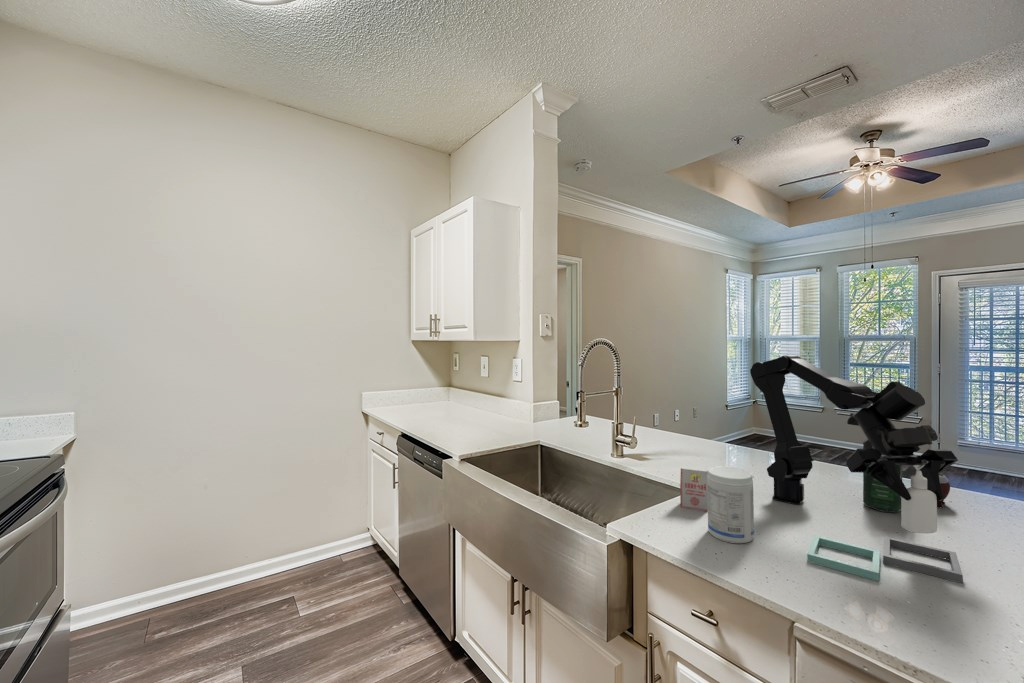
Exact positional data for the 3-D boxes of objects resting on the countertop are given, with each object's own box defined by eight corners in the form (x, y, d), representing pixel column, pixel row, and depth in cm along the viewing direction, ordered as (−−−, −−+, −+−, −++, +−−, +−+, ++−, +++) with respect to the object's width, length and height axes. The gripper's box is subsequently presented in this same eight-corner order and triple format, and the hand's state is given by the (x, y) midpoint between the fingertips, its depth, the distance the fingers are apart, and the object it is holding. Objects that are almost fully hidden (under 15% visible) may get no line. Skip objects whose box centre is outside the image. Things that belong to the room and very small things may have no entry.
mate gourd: (934, 498, 119) (933, 445, 119) (961, 510, 111) (960, 452, 111) (905, 498, 119) (904, 444, 119) (929, 509, 112) (929, 452, 112)
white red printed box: (681, 502, 118) (681, 466, 118) (708, 506, 115) (708, 469, 115) (680, 507, 115) (680, 470, 115) (708, 511, 112) (707, 473, 112)
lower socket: (807, 561, 86) (807, 553, 86) (814, 541, 94) (814, 535, 94) (878, 581, 79) (878, 573, 79) (880, 558, 87) (879, 550, 87)
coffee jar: (902, 516, 107) (901, 442, 107) (861, 508, 113) (861, 438, 113) (903, 505, 114) (902, 436, 114) (865, 498, 120) (864, 432, 120)
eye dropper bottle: (897, 523, 89) (897, 465, 89) (933, 528, 86) (933, 469, 86) (903, 531, 85) (903, 471, 85) (942, 537, 83) (942, 476, 82)
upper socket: (883, 562, 85) (883, 555, 85) (883, 543, 94) (883, 536, 94) (962, 583, 78) (962, 575, 78) (955, 559, 86) (955, 552, 86)
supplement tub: (726, 523, 104) (725, 463, 104) (763, 539, 96) (763, 474, 96) (698, 531, 100) (697, 469, 100) (735, 549, 92) (734, 480, 92)
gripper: (855, 411, 90) (899, 480, 79) (949, 411, 89) (1007, 481, 78) (830, 439, 98) (867, 505, 87) (916, 439, 97) (964, 507, 86)
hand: (925, 499), depth 84 cm, fingers closed on eye dropper bottle, 6 cm apart
